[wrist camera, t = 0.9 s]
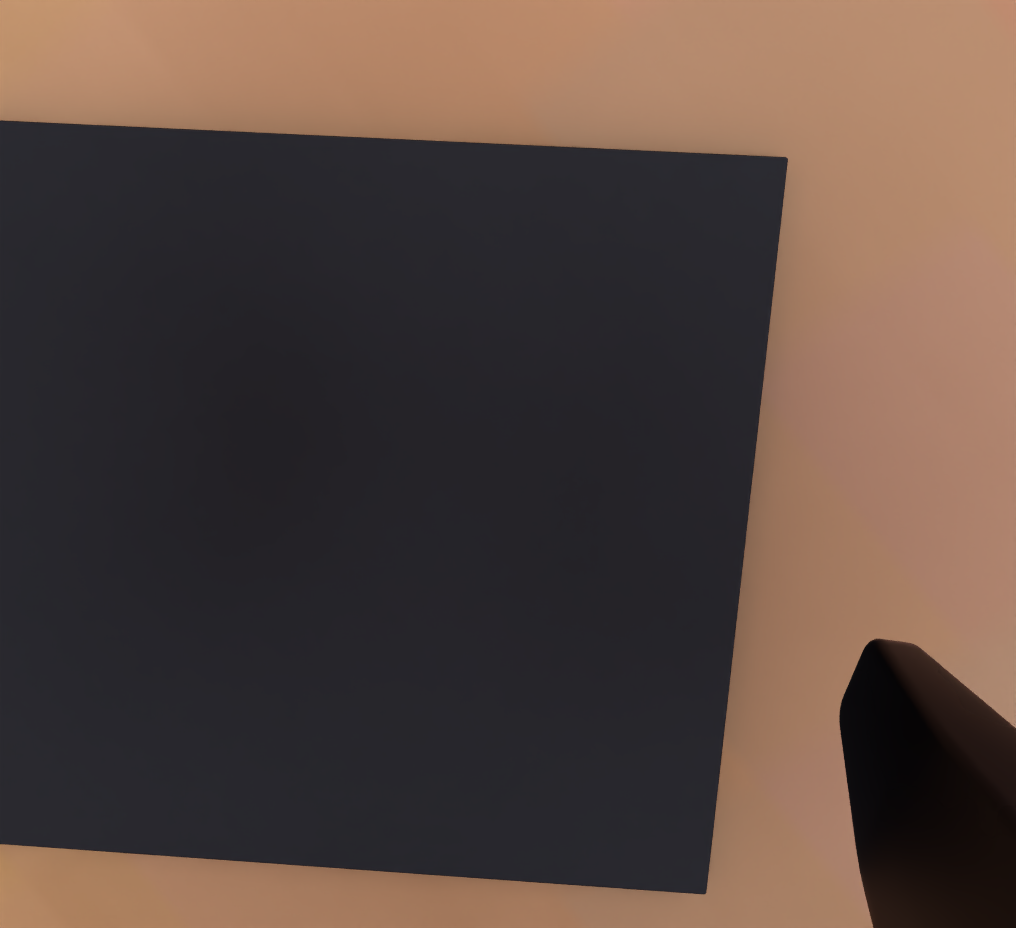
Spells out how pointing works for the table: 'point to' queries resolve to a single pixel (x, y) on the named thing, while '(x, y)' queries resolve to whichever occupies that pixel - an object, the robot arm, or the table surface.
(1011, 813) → the robot arm
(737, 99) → the table surface
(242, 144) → the mat
